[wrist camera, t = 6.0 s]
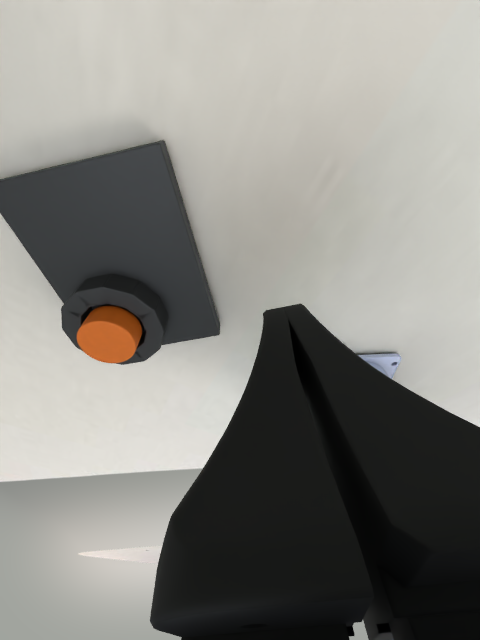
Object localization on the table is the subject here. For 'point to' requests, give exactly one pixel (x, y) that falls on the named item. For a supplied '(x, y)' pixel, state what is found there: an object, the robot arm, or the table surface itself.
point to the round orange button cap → (110, 334)
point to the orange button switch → (115, 243)
